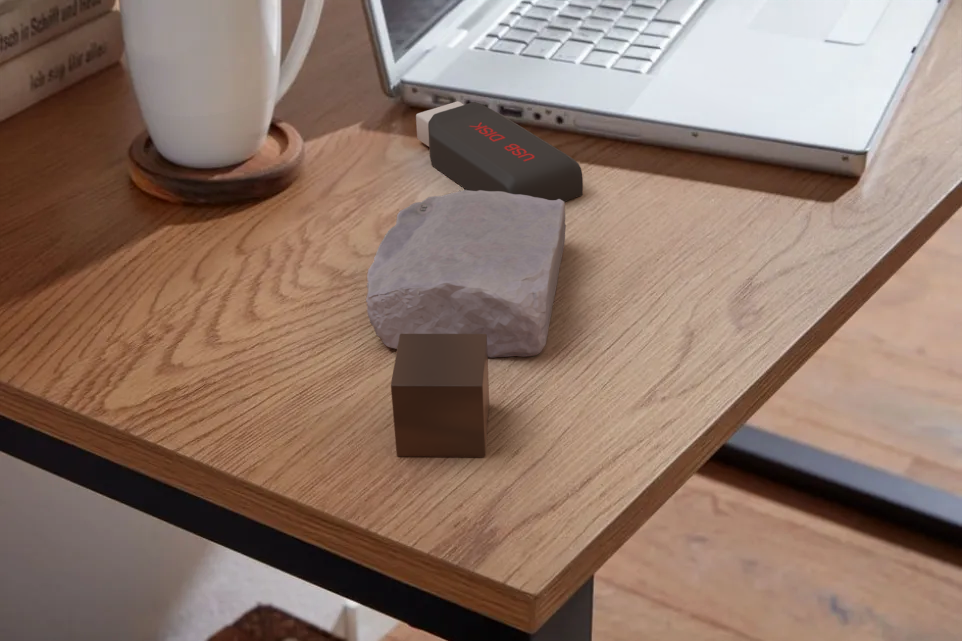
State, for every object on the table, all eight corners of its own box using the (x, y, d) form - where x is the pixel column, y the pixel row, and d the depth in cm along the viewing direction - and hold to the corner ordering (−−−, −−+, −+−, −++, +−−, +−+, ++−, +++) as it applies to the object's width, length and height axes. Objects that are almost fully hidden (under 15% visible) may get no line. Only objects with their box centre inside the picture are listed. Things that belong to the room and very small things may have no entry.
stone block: (367, 383, 67) (562, 361, 65) (342, 303, 65) (542, 276, 63) (409, 267, 77) (578, 244, 75) (388, 194, 75) (562, 167, 73)
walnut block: (489, 403, 63) (486, 333, 61) (485, 457, 60) (482, 385, 58) (405, 402, 63) (399, 332, 61) (396, 456, 60) (390, 385, 58)
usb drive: (511, 221, 77) (510, 179, 76) (404, 146, 86) (402, 107, 84) (583, 195, 80) (584, 154, 78) (472, 125, 88) (471, 86, 86)
